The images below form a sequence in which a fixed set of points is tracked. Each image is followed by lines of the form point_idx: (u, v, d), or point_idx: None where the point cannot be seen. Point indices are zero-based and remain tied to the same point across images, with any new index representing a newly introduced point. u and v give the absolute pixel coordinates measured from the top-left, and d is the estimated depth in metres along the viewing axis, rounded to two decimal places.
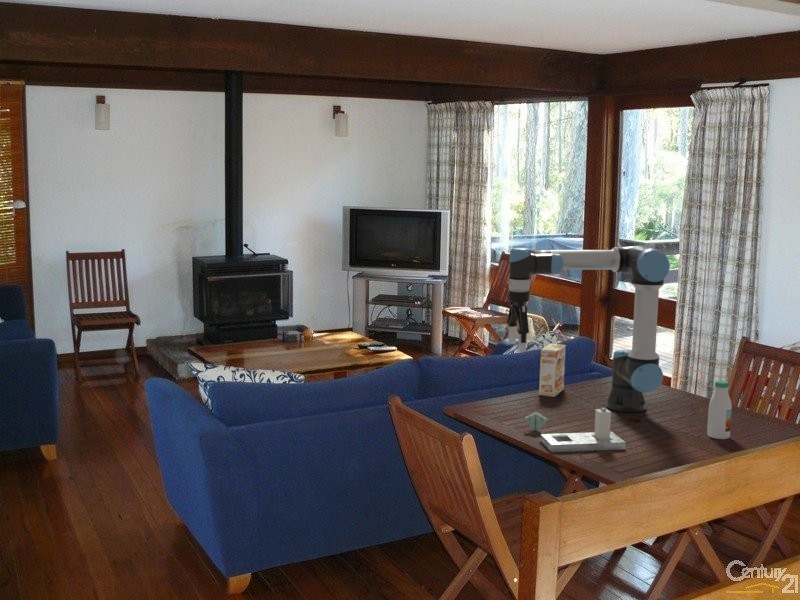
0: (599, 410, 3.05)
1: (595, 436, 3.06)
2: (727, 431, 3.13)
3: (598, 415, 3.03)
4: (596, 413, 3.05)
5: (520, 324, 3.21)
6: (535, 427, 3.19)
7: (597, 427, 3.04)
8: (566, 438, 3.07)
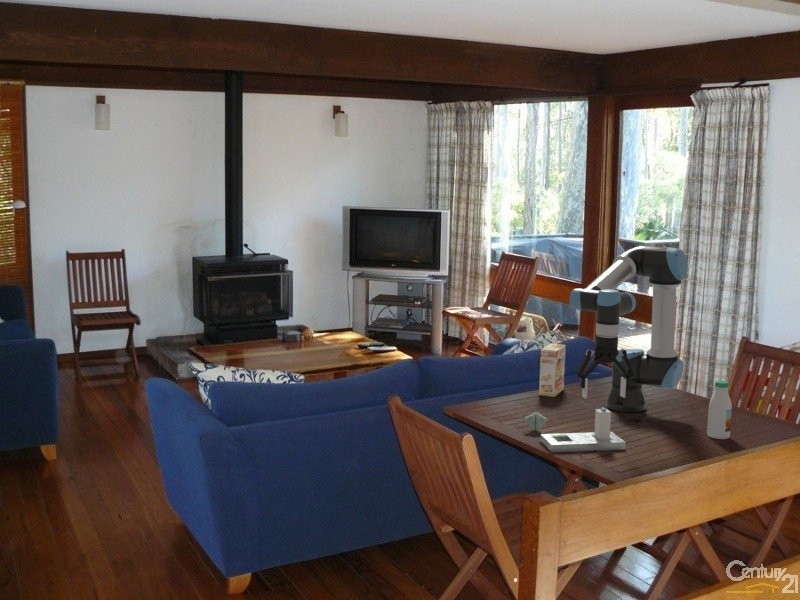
0: (599, 410, 3.04)
1: (595, 436, 3.06)
2: (727, 431, 3.13)
3: (598, 415, 3.03)
4: (596, 413, 3.05)
5: (586, 368, 3.02)
6: (535, 427, 3.19)
7: (597, 427, 3.04)
8: (566, 438, 3.07)
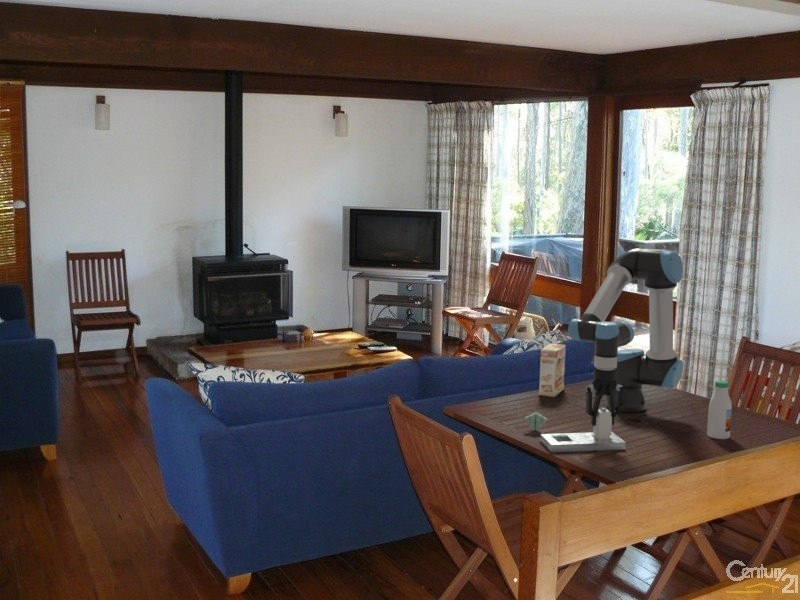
0: (599, 410, 3.04)
1: (595, 436, 3.06)
2: (727, 431, 3.13)
3: (598, 415, 3.03)
4: None
5: (593, 405, 3.04)
6: (535, 427, 3.19)
7: None
8: (566, 438, 3.07)
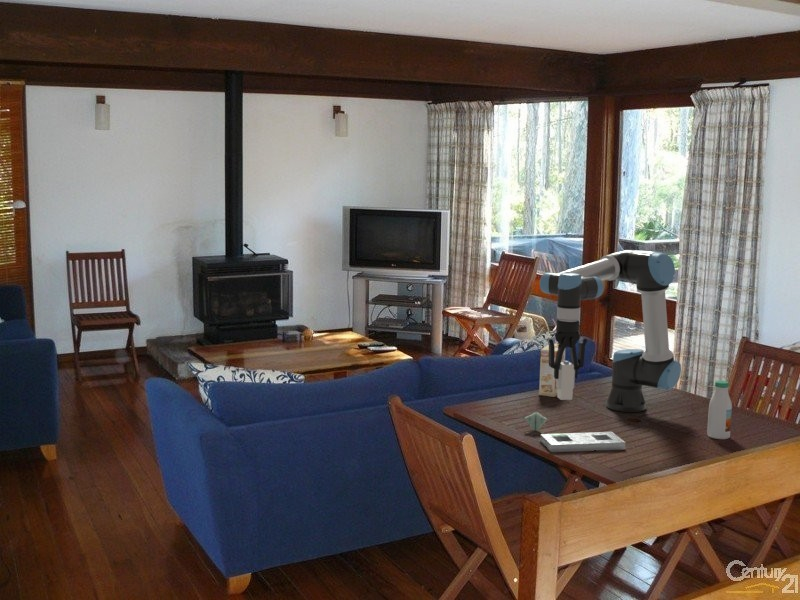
0: (562, 363, 3.00)
1: (558, 390, 3.02)
2: (727, 431, 3.13)
3: (561, 368, 2.98)
4: None
5: (556, 358, 3.00)
6: (535, 427, 3.19)
7: None
8: (566, 438, 3.07)
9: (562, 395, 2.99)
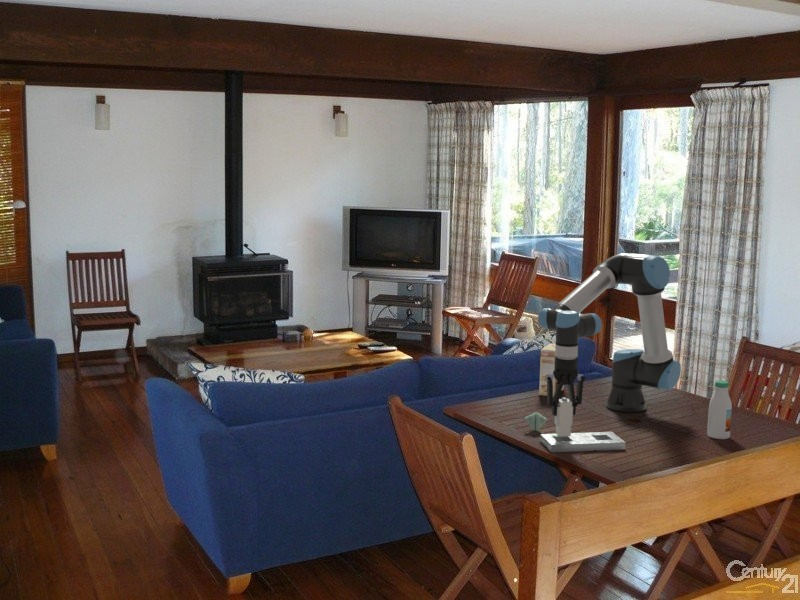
0: (560, 400, 3.02)
1: (556, 426, 3.04)
2: (727, 431, 3.13)
3: (559, 405, 3.00)
4: None
5: (554, 395, 3.02)
6: (535, 427, 3.19)
7: None
8: (566, 438, 3.07)
9: (560, 432, 3.01)
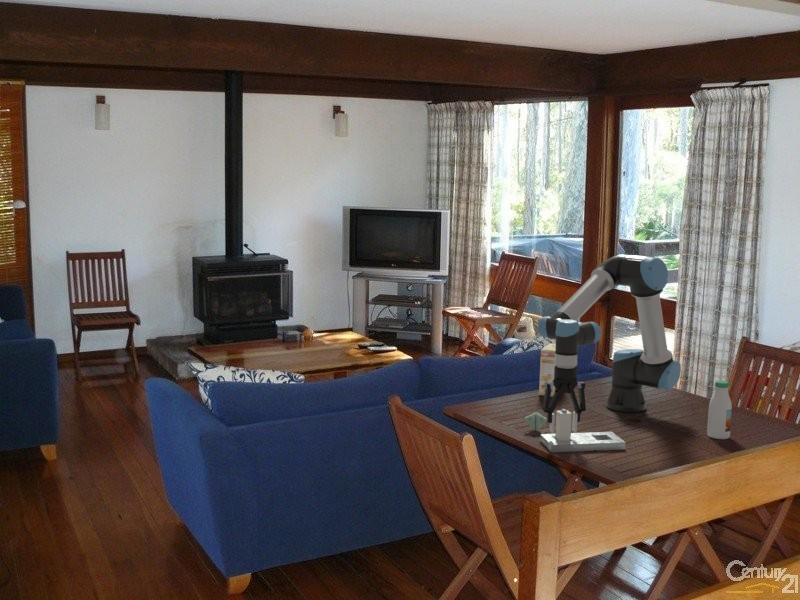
0: (560, 411, 3.02)
1: (556, 437, 3.04)
2: (727, 431, 3.13)
3: (559, 417, 3.01)
4: (557, 414, 3.03)
5: (550, 402, 3.02)
6: (535, 427, 3.19)
7: (558, 428, 3.02)
8: None
9: None
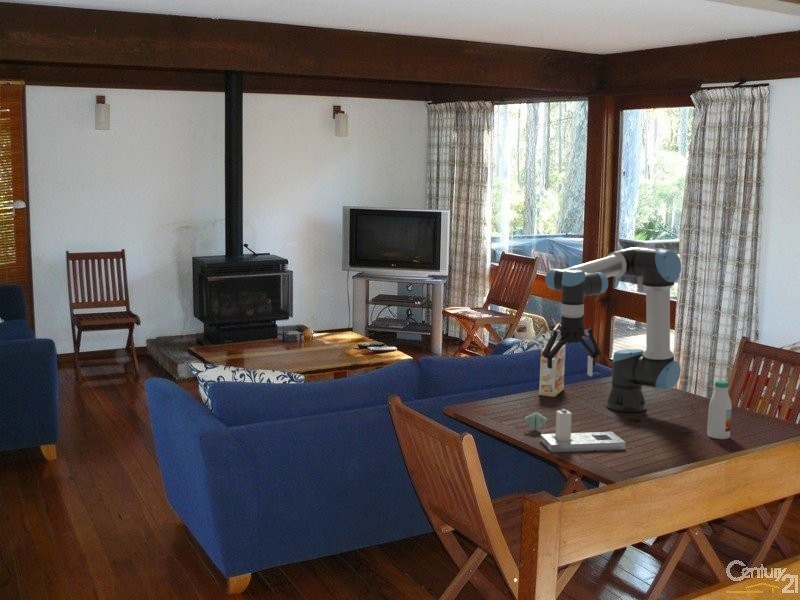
0: (560, 411, 3.02)
1: (556, 437, 3.04)
2: (727, 431, 3.13)
3: (559, 417, 3.01)
4: (557, 414, 3.03)
5: None
6: (535, 427, 3.19)
7: (558, 428, 3.02)
8: None
9: None
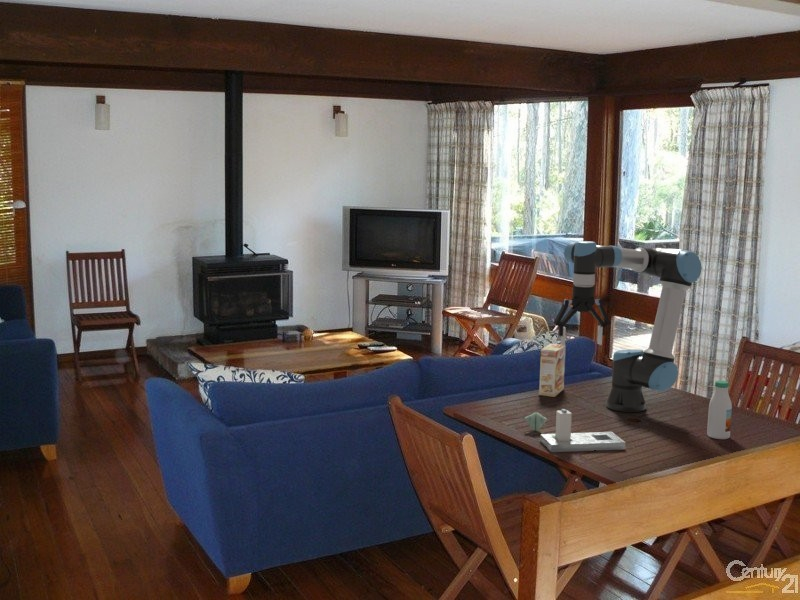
0: (560, 411, 3.02)
1: (556, 437, 3.04)
2: (727, 431, 3.13)
3: (559, 417, 3.01)
4: (557, 414, 3.03)
5: (564, 317, 3.15)
6: (535, 427, 3.19)
7: (558, 428, 3.02)
8: None
9: None
